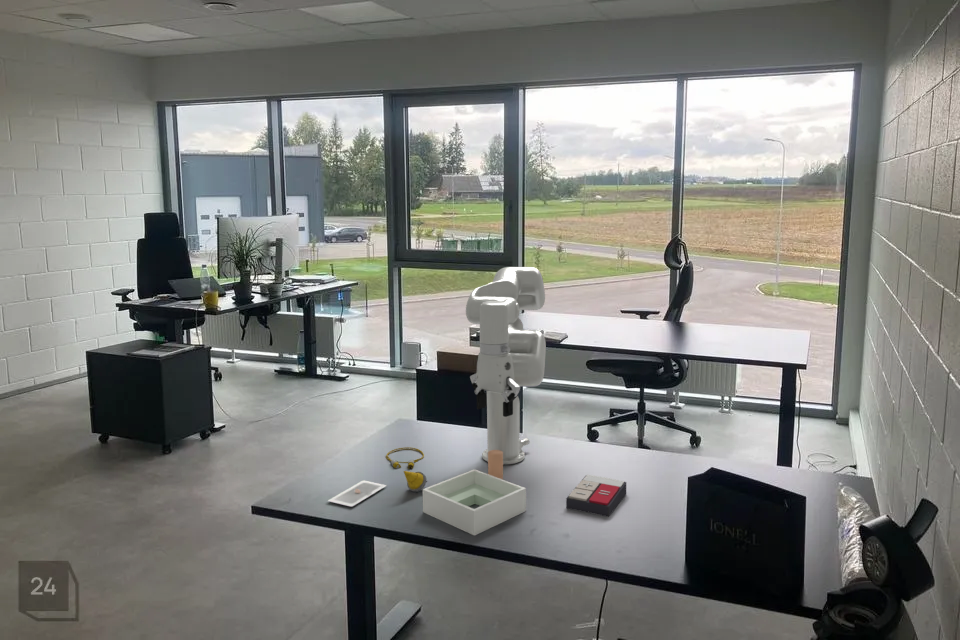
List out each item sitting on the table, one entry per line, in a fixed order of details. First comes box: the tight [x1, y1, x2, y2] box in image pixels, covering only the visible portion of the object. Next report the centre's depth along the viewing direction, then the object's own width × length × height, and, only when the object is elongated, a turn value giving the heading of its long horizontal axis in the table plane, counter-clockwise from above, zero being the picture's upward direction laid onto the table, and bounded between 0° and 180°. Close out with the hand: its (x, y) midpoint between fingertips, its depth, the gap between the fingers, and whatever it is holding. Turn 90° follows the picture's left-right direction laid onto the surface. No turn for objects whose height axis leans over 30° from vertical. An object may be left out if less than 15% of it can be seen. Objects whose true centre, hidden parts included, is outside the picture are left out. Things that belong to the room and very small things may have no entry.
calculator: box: [565, 474, 627, 517], centre depth 187 cm, size 11×4×15 cm
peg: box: [487, 450, 504, 480], centre depth 198 cm, size 4×4×9 cm
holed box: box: [422, 469, 527, 536], centre depth 181 cm, size 18×18×6 cm
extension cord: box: [385, 446, 425, 469], centre depth 218 cm, size 12×16×2 cm
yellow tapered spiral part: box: [403, 470, 428, 493], centre depth 194 cm, size 5×5×10 cm
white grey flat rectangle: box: [327, 479, 387, 508], centre depth 192 cm, size 8×15×2 cm, turn 152°
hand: (494, 411), depth 195 cm, fingers open, 9 cm apart
